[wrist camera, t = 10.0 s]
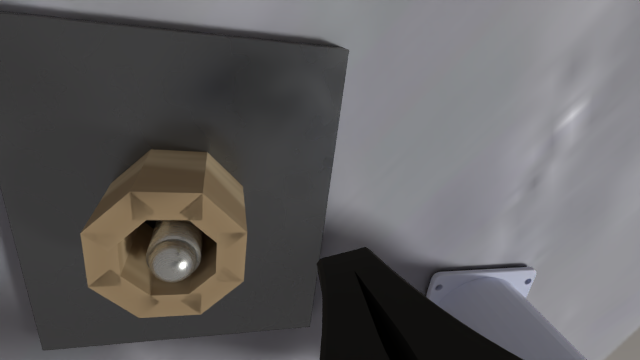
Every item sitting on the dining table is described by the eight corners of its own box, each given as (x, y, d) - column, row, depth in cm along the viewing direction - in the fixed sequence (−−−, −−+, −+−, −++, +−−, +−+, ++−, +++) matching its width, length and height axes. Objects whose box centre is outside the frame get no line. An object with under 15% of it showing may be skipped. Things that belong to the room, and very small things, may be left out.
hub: (306, 314, 24) (326, 393, 19) (50, 334, 20) (-4, 439, 15) (342, 47, 17) (388, 66, 12) (-29, 8, 13) (-167, 12, 9)
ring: (265, 208, 18) (275, 257, 15) (181, 274, 19) (171, 337, 16) (179, 125, 16) (166, 161, 12) (84, 205, 16) (46, 262, 13)
